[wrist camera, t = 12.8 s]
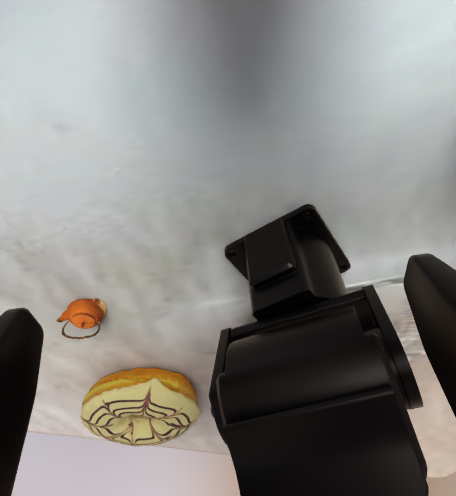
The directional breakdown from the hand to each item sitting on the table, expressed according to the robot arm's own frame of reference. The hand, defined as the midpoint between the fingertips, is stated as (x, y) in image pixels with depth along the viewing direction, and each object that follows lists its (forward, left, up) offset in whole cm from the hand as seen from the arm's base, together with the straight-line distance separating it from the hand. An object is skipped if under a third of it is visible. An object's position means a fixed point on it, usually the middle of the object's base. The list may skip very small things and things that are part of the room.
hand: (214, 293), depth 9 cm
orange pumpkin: (-8, +17, -13) cm, 23 cm away
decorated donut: (-20, +22, -13) cm, 33 cm away
